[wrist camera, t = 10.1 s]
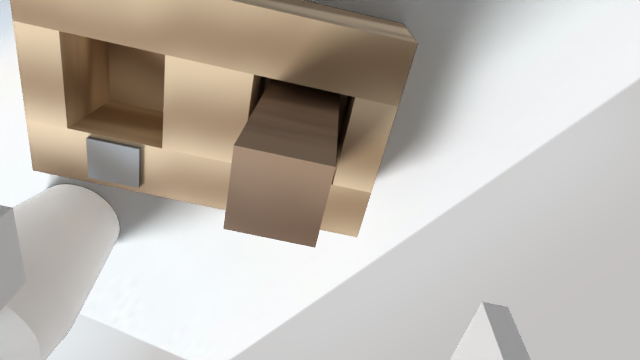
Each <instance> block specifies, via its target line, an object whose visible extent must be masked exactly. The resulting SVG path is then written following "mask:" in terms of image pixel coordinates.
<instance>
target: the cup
mask: <svg viewBox="0 0 640 360" xmlns="http://www.w3.org/2000/svg"><path fill="white" fill-rule="evenodd" d="M13 212H14V217H15V223H16V228H17V233H18V239H19V244H20V250H21V255H22V260H23V266H24V271H25V277H26V282H27V283H26V284H25V285H24V286H23V287H22V288H21V289H20V290H19V291H18V292H17V293H16V295H15V296H14V297H13V298H12V299H11V300H10V301H9V302H8V303H7V304H6V305H5V306H4V307H3V308H2V310H1V311H0V360H46V359H47V358H48V356H49V355H50V354H51V353H52V351H53V350H54V349H55V348H56V347H57V346H58V344H59V343H60V342H61V341H62V340H63V339H64V338H65V336H66V335H67V334H68V332H69V331H70V329H71V328H72V326H73V324H74V322H75V320H76V318H77V316H78V314H79V312H80V311H81V309H82V307H83V305H84V303H85V301H86V299H87V297H88V295H89V293H90V291H91V289H92V287H93V285H94V283H95V281H96V280H97V278H98V276H99V274H100V272H101V270H102V268H103V266H104V264H105V262H106V260H107V258H108V256H109V254H110V252H111V250H112V248H113V247H114V245H115V243H116V241H117V239H118V236H119V232H120V226H119V221H118V218H117V216H116V214H115V212H114V210H113V209H112V207H111V206H110V205H109V204H108V203H107V202H106V201H105V200H104V199H103V198H102V197H100V196H99V195H98V194H96V193H95V192H93V191H91V190H89V189H86V188H84V187H81V186H77V185H71V184H60V185H55V186H52V187H50V188H48V189H46V190H44V191H43V192H41V193H39V194H37V195H35V196H34V197H32V198H30V199H28V200H26V201H24V202H23V203H21V204H19V205H17V206H15V207H13Z"/></svg>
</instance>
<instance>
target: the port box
mask: <svg viewBox="0 0 640 360" xmlns="http://www.w3.org/2000/svg"><path fill="white" fill-rule="evenodd" d="M10 4H11V11H12V19H13V26H14V34H15V41H16V48H17V56H18V63H19V71H20V78H21V85H22V93H23V100H24V107H25V115H26V122H27V130H28V137H29V144H30V152H31V159H32V167H33V170H34V171H39V172H44V173H49V174H54V175H58V176H63V177H68V178H73V179H78V180H83V181H87V182H92V183H97V184H102V185H107V186H112V187H116V188H121V189H126V190H131V191H136V192H141V193H145V194H150V195H155V196H160V197H165V198H170V199H174V200H179V201H184V202H189V203H194V204H199V205H204V206H208V207H213V208H218V209H223V210H226V205H227V197H228V188H229V180H230V172H231V164H232V155H233V147H234V144H235V142H236V140H237V139H238V137H239V135H240V133H241V132H242V130H243V128H244V126H245V125H246V123H247V121H248V120H249V118H250V116H251V114H252V113H253V111H254V109H255V107H256V106H257V104H258V102H259V100H260V99H261V97H262V95H263V93H264V92H265V90H266V88H267V86H268V85H269V83H270V81H271V79H276V80H281V81H285V82H289V83H294V84H298V85H303V86H307V87H312V88H316V89H321V90H325V91H330V92H334V93H339V94H340V101H339V119H338V137H337V154H336V168H335V172H334V176H333V180H332V184H331V188H330V192H329V195H328V199H327V203H326V207H325V211H324V215H323V219H322V223H321V227H320V230H324V231H329V232H334V233H339V234H344V235H349V236H353V237H357V236H358V233H359V230H360V227H361V224H362V220H363V217H364V214H365V211H366V208H367V204H368V201H369V198H370V195H371V192H372V188H373V185H374V182H375V179H376V176H377V173H378V169H379V166H380V163H381V160H382V157H383V153H384V150H385V147H386V144H387V141H388V137H389V134H390V131H391V128H392V125H393V122H394V118H395V115H396V112H397V109H398V106H399V102H400V99H401V96H402V93H403V90H404V86H405V83H406V80H407V77H408V74H409V70H410V67H411V64H412V61H413V58H414V55H415V51H416V48H417V45H418V43H417V42H416V40H415V39H414V37H413V36H412V34H411V33H410V32H409V30H408V29H407V27H406V26H405V25H404V24H402V23H398V22H394V21H390V20H385V19H381V18H377V17H372V16H368V15H364V14H360V13H355V12H351V11H347V10H342V9H338V8H334V7H330V6H325V5H321V4H317V3H312V2H308V1H304V0H10Z"/></svg>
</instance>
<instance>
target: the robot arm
mask: <svg viewBox="0 0 640 360" xmlns="http://www.w3.org/2000/svg"><path fill="white" fill-rule="evenodd" d="M26 283H27V282H26V277H25V271H24V266H23V260H22V255H21V250H20V244H19V239H18V233H17V228H16V223H15V217H14V212H13V208H11V207H6V206H1V205H0V311H1V310H2V308H3V307H4V306H5V305H6V304H7V303H8V302H9V301H10V300H11V299H12V298H13V297H14V296H15V295H16V293H17V292H18V291H19V290H20V289H21V288H22V287H23V286H24V285H25V284H26ZM450 360H530V357H529V355H528V353H527V351H526V348H525V346H524V343H523V341H522V339H521V336H520V334H519V332H518V329H517V327H516V325H515V323H514V320H513V318H512V315H511V313H510V311H509V308H508V307H505V306H500V305H495V304H490V303H485V302H482V303H481V305H480V307H479V309H478V310H477V312H476V314H475V316H474V318H473V319H472V321H471V323H470V325H469V327H468V328H467V330H466V332H465V334H464V336H463V337H462V339H461V341H460V343H459V344H458V346H457V348H456V350H455V352H454V353H453V355H452V357H451V359H450Z"/></svg>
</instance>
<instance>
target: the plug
mask: <svg viewBox="0 0 640 360" xmlns="http://www.w3.org/2000/svg"><path fill="white" fill-rule="evenodd" d="M339 101H340V94H339V93H334V92H330V91H325V90H321V89H316V88H312V87H307V86H303V85H298V84H294V83H289V82H285V81H281V80H276V79H271V81H270V83H269V85H268V86H267V88H266V90H265V92H264V93H263V95H262V97H261V99H260V100H259V102H258V104H257V106H256V107H255V109H254V111H253V113H252V114H251V116H250V118H249V120H248V121H247V123H246V125H245V126H244V128H243V130H242V132H241V133H240V135H239V137H238V139H237V140H236V142H235V144H234V147H233V155H232V164H231V172H230V180H229V188H228V197H227V205H226V213H225V221H224V229H227V230H232V231H237V232H242V233H247V234H252V235H257V236H262V237H267V238H271V239H276V240H281V241H286V242H291V243H296V244H301V245H306V246H311V247H315V246H316V242H317V238H318V234H319V230H320V227H321V223H322V219H323V215H324V211H325V207H326V203H327V199H328V195H329V192H330V188H331V184H332V180H333V176H334V172H335V168H336V154H337V137H338V119H339Z"/></svg>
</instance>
